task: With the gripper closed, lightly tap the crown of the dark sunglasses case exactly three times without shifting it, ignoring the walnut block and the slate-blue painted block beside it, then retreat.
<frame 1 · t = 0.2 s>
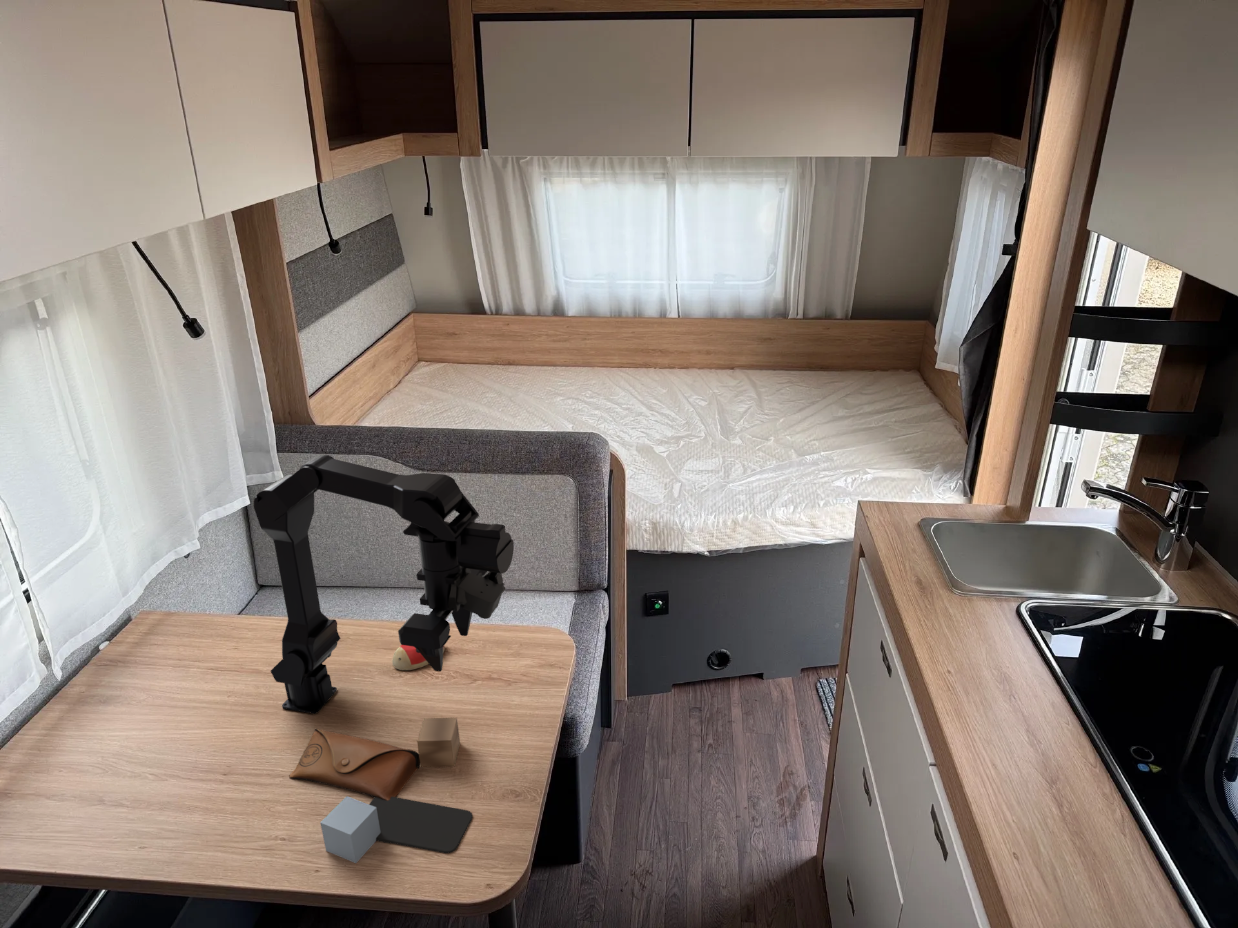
hand: (451, 652, 128), 14 cm above the table, fingers open, 9 cm apart
ladybug figurine: (419, 659, 151), on the table
sunglasses case: (355, 773, 125), on the table
walnut block: (440, 755, 128), on the table
slate block: (353, 843, 113), on the table
phone: (414, 827, 116), on the table
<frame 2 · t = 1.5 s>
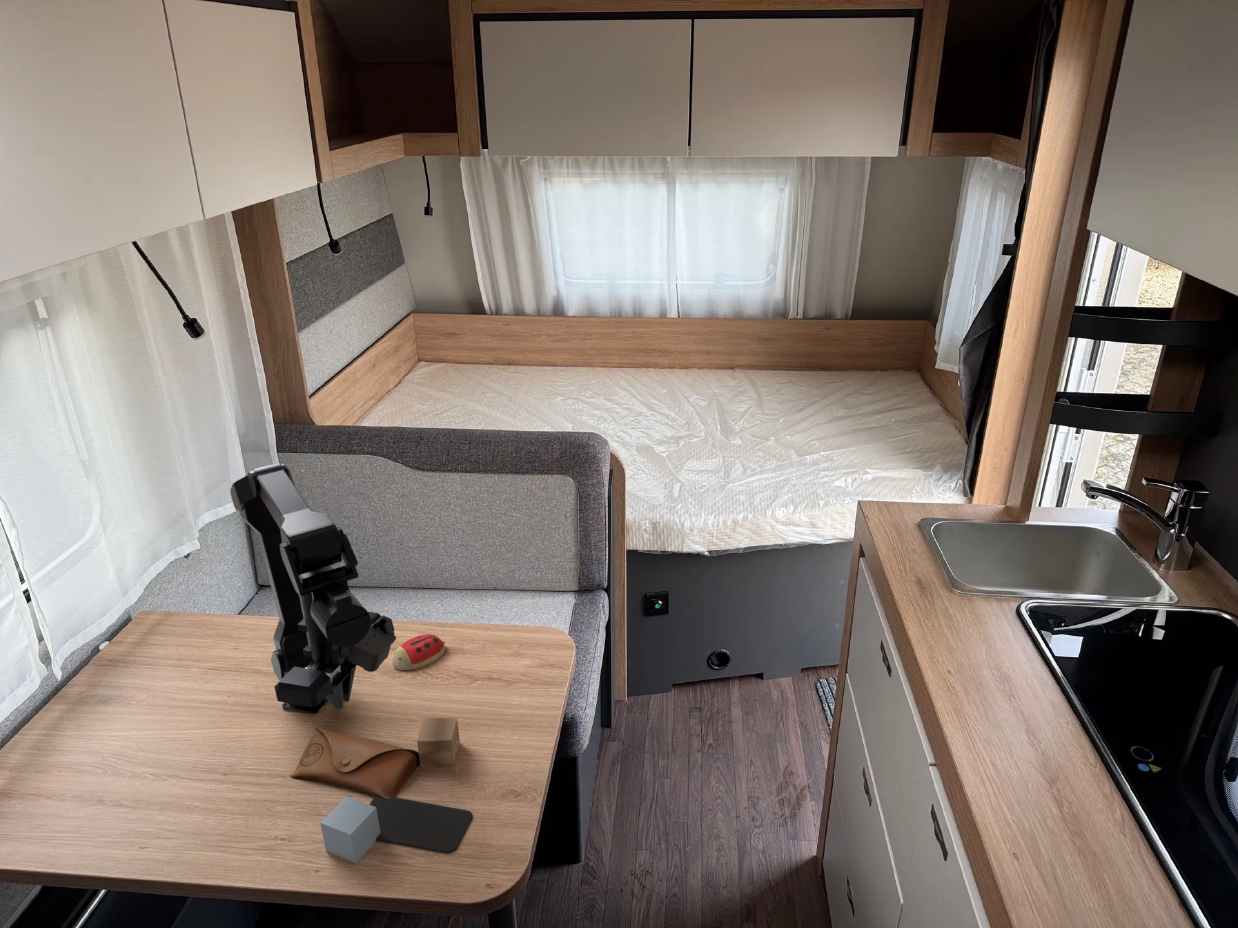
hand: (342, 704, 121), 12 cm above the table, fingers closed
sunglasses case: (355, 772, 126), on the table, touching phone
phone: (414, 827, 116), on the table, touching sunglasses case
everything else where it was.
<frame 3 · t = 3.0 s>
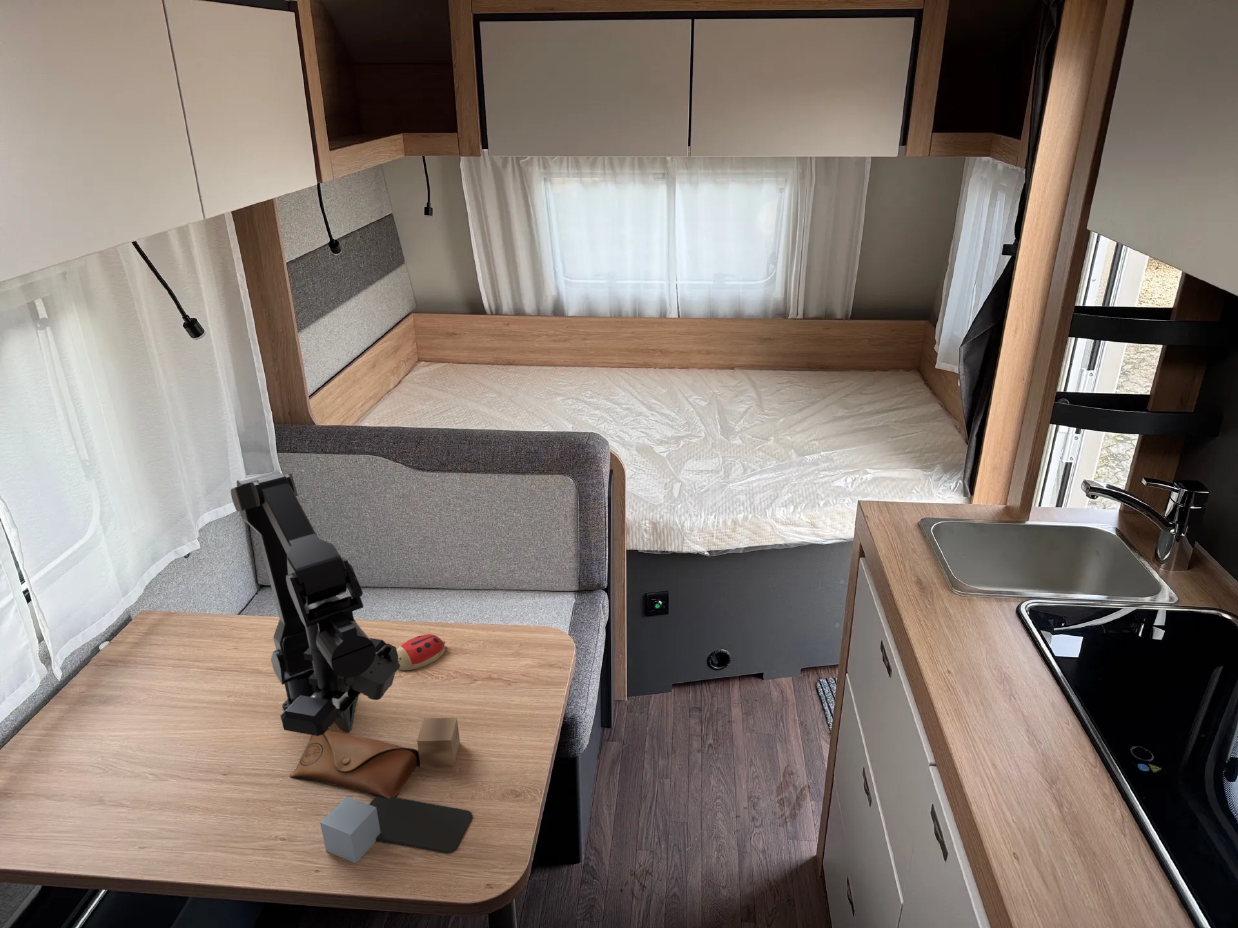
hand: (347, 730, 122), 7 cm above the table, fingers closed
sunglasses case: (355, 772, 126), on the table
phone: (414, 827, 116), on the table
everything else where it was.
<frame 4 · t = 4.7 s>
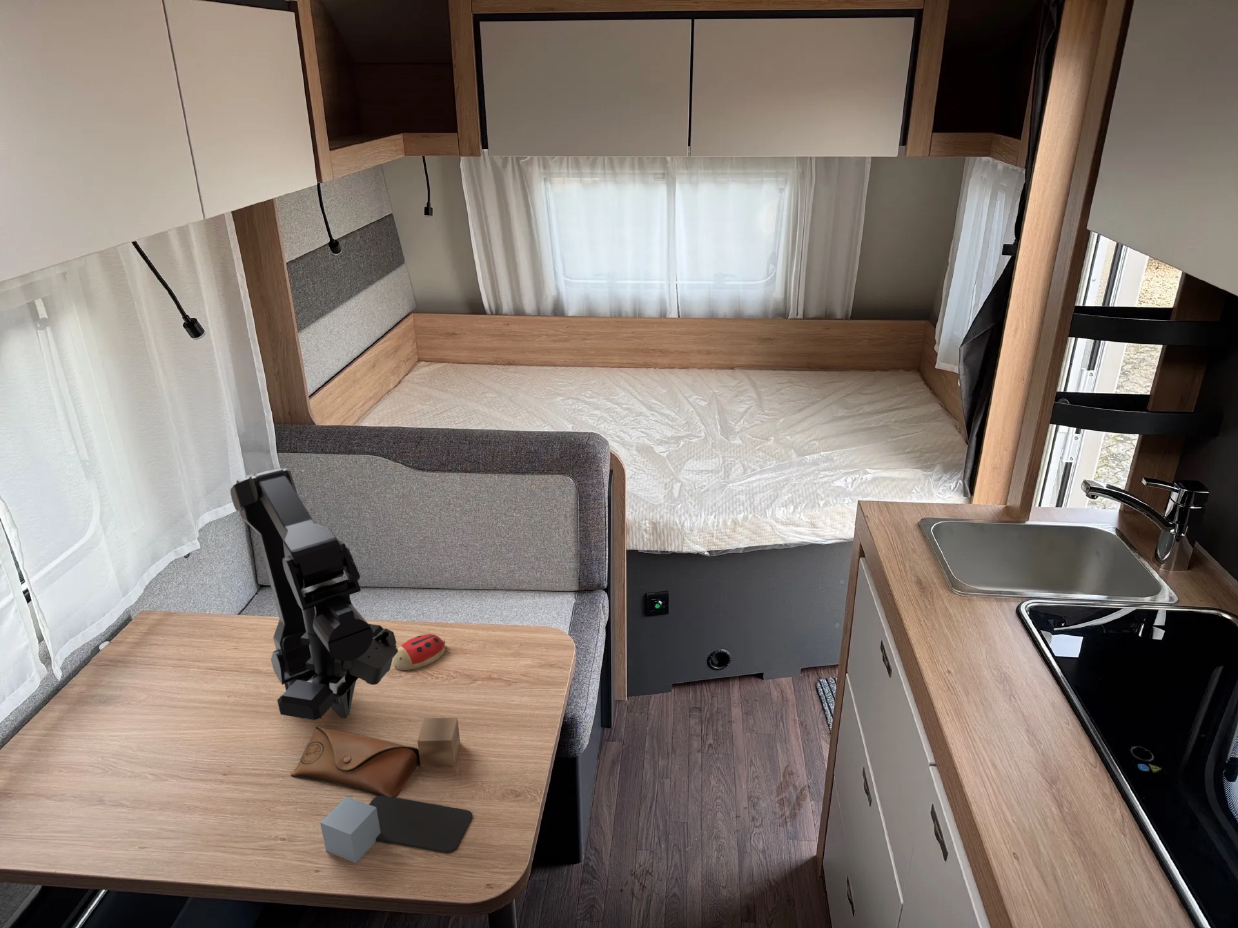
hand: (344, 716, 121), 10 cm above the table, fingers closed
sunglasses case: (356, 770, 126), on the table, touching phone
phone: (414, 827, 116), on the table, touching sunglasses case
everything else where it was.
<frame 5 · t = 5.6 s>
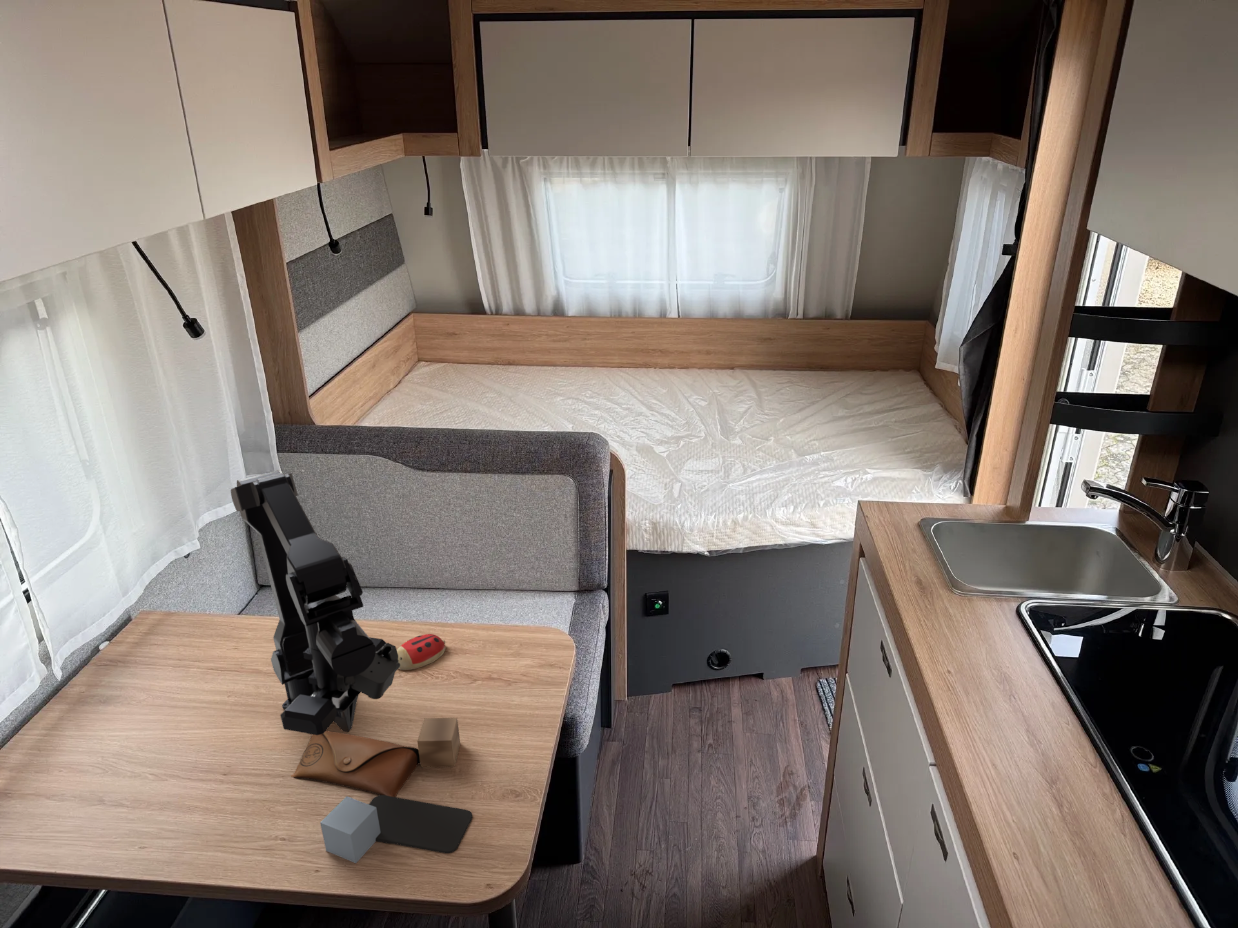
hand: (347, 730, 122), 7 cm above the table, fingers closed
sunglasses case: (356, 771, 126), on the table
phone: (414, 827, 116), on the table
everything else where it was.
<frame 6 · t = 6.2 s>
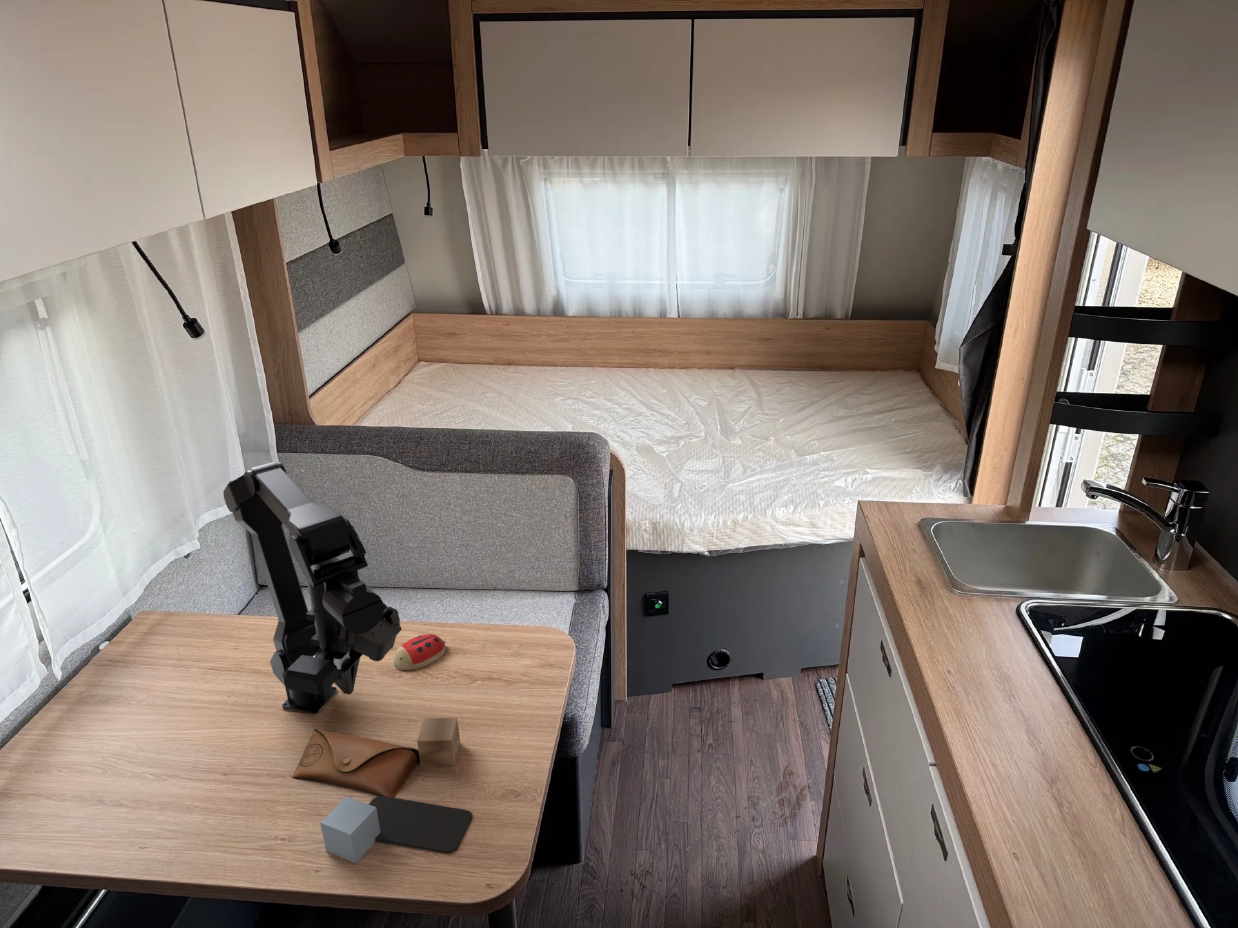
hand: (348, 692, 123), 12 cm above the table, fingers closed
nothing on the table moved.
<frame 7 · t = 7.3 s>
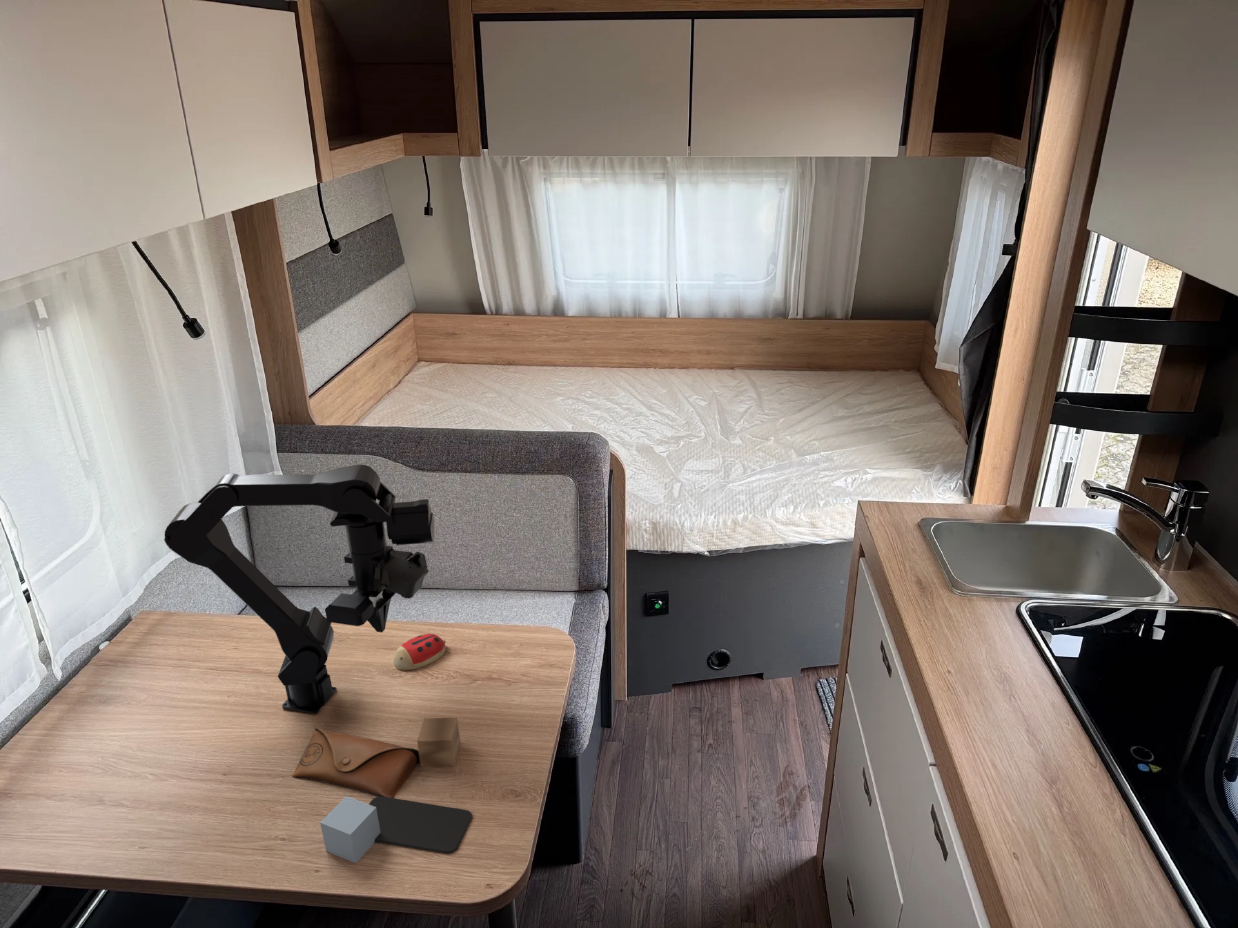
hand: (380, 630, 138), 12 cm above the table, fingers closed
nothing on the table moved.
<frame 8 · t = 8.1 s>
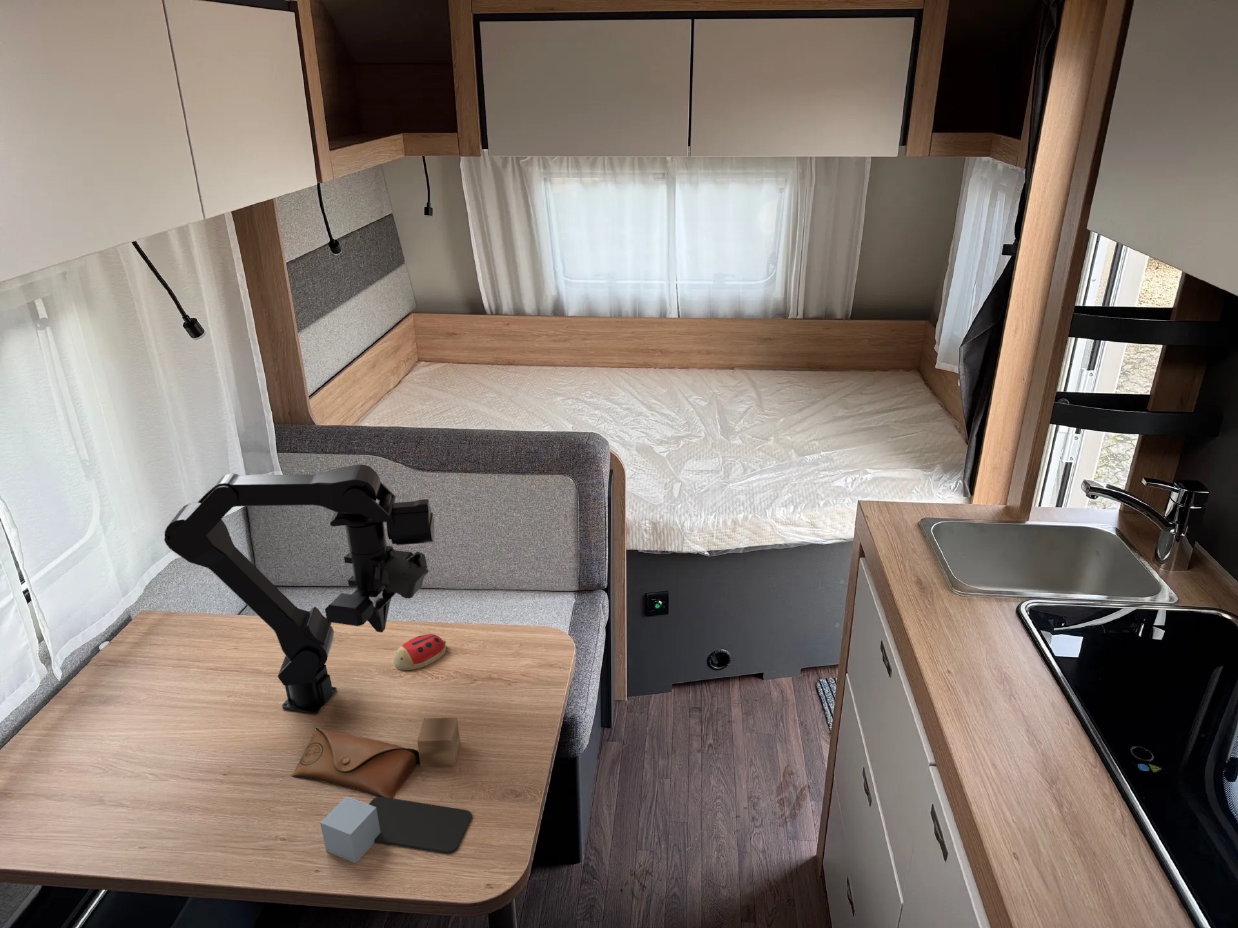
hand: (380, 630, 138), 12 cm above the table, fingers closed
nothing on the table moved.
at the end: sunglasses case moved 0.8 cm from its start; walnut block touching table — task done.
